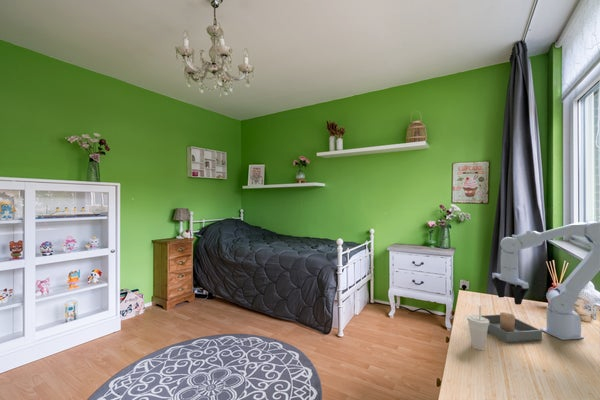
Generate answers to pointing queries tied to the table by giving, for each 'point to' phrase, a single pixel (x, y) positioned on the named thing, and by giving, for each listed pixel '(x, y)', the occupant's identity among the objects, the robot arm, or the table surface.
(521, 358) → the table surface
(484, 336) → the smoothie
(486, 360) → the table surface
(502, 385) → the table surface
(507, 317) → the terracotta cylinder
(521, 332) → the tub
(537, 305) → the table surface
